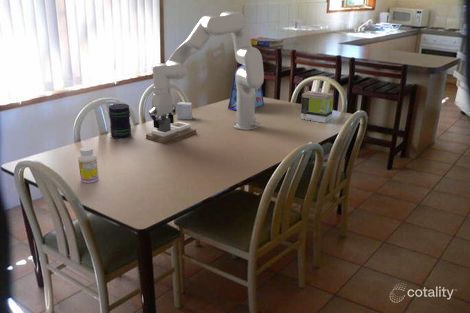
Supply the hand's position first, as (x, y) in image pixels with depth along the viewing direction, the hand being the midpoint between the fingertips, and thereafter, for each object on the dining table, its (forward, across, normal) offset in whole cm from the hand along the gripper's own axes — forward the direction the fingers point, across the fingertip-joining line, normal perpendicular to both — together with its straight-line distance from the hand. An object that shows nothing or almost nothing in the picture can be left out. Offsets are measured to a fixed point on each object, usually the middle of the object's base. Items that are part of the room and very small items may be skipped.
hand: (163, 125), depth 218 cm
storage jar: (+7, +10, -20) cm, 23 cm away
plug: (+4, 0, 0) cm, 4 cm away
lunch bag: (+7, -73, -3) cm, 73 cm away
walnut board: (+7, -5, 0) cm, 8 cm away
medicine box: (+7, -32, -16) cm, 36 cm away
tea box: (+7, -76, +43) cm, 88 cm away
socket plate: (+5, -5, -1) cm, 7 cm away
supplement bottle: (+7, +53, +13) cm, 55 cm away
